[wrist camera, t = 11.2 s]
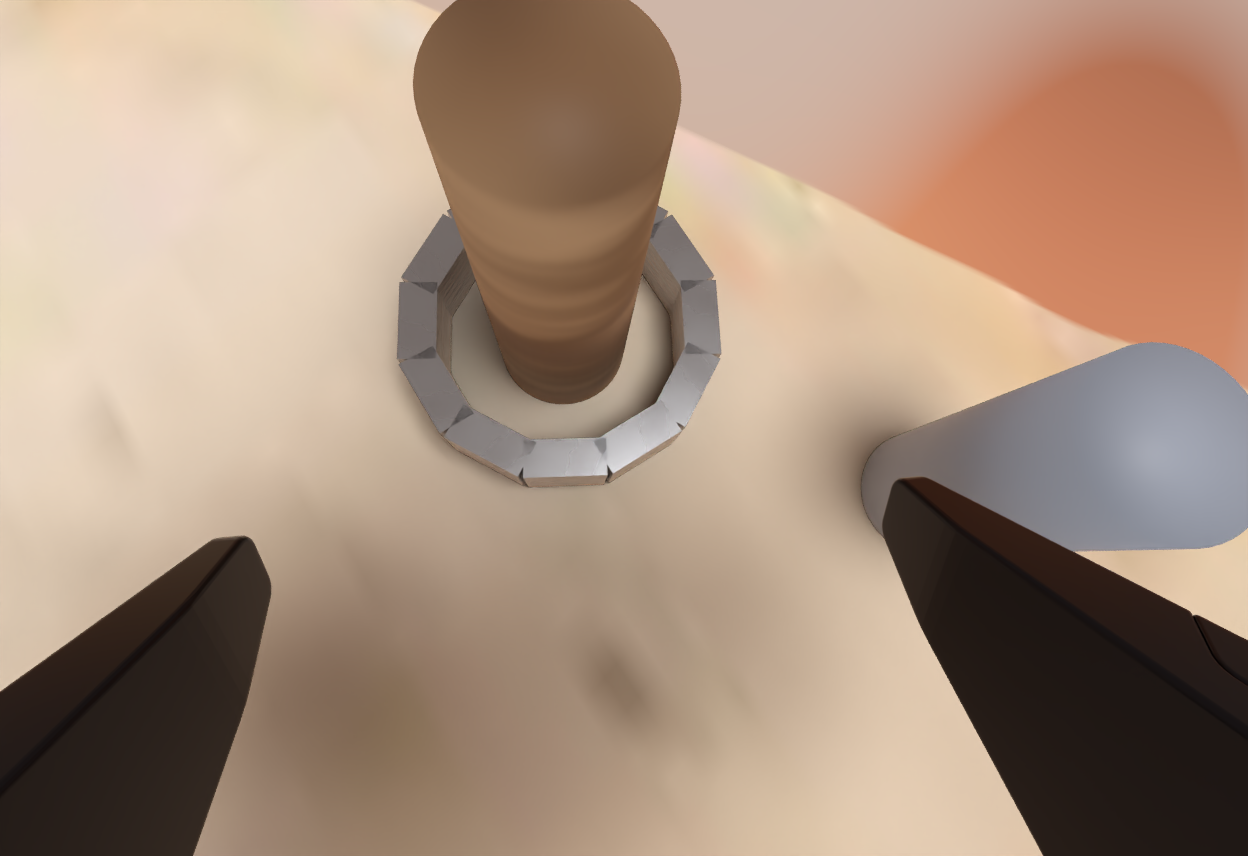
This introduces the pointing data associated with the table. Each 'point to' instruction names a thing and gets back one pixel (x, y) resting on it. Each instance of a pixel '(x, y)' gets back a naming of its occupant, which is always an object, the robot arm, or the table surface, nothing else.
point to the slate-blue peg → (1094, 454)
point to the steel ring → (571, 461)
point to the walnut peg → (551, 171)
